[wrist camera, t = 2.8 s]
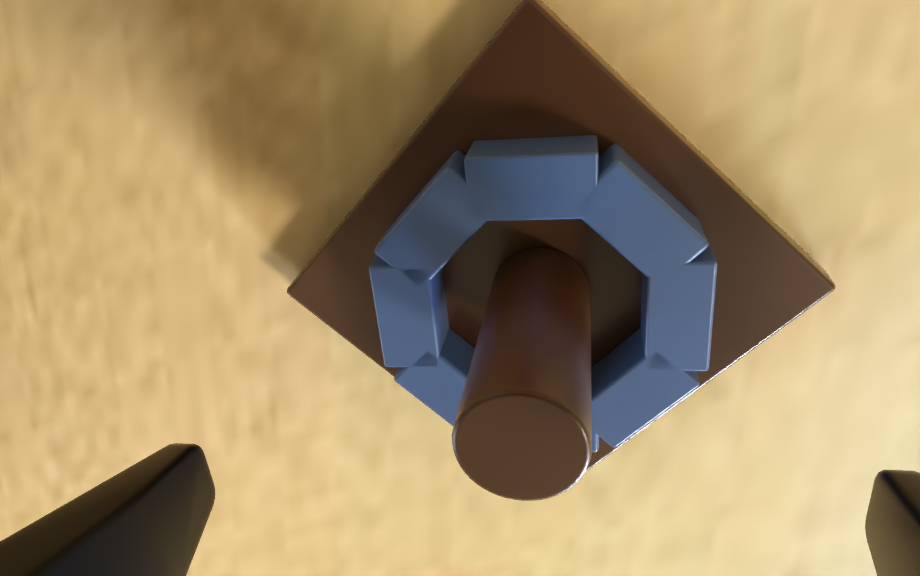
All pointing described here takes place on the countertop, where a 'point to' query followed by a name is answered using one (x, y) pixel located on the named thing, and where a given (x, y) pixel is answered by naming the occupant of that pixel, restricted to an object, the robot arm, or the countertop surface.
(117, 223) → the countertop surface
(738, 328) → the dowel stand
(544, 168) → the ring
